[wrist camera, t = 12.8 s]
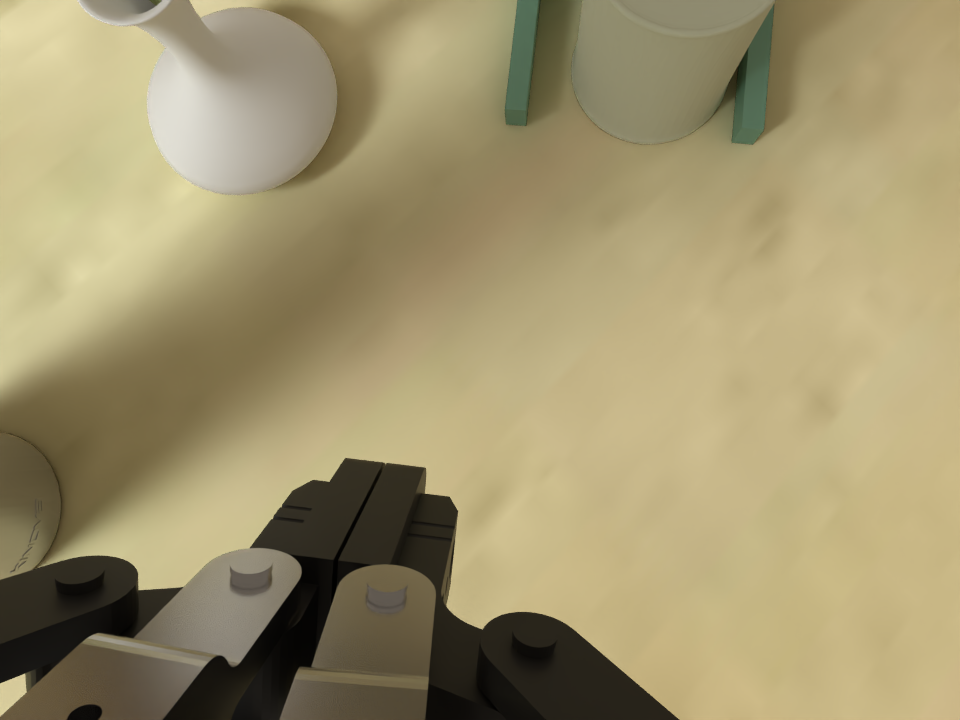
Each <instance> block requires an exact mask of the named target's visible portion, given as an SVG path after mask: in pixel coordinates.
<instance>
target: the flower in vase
mask: <svg viewBox="0 0 960 720" xmlns="http://www.w3.org/2000/svg"><path fill="white" fill-rule="evenodd" d="M77 1H78V2H79V4H80V5H81V7H82V8H83V9H84V10H85V11H86V12H87V13H88V14H89V15H91V16H92V17H94V18H95V19H97V20H99V21H101V22H104V23H107V24H110V25H115V26H137V27H139V28H141V29H142V30H144V31H146V32H147V33H149V34H150V35H151V36H152V37H154V38H155V39H156V40H158V41H159V42H160V43H161V44H162V45H163V46H164V47H165V49H164V51H163V52H162V54H161V55H160V57H159V59H158V61H157V63H156V65H155V67H154V70H153V72H152V75H151V78H150V82H149V87H148V94H147V113H148V119H149V124H150V127H151V130H152V134H153V137H154V140H155V142H156V144H157V146H158V148H159V151H160V152H161V154H162V155H163V157H164V159H165V160H166V161H167V163H168V164H169V165H170V166H171V167H172V168H173V170H175V171H176V172H177V173H178V174H179V175H180V176H181V177H183V178H184V179H186V180H187V181H189V182H190V183H192V184H193V185H196V186H198V187H200V188H202V189H204V190H208V191H211V192H214V193H219V194H225V195H248V194H255V193H259V192H264V191H267V190H270V189H272V188H275V187H277V186H279V185H281V184H283V183H285V182H287V181H289V180H290V179H292V178H293V177H295V176H296V175H298V174H299V173H300V172H301V171H302V170H303V169H305V168H306V167H307V166H308V165H309V164H310V163H311V162H312V160H313V159H314V158H315V157H316V156H317V154H318V153H319V151H320V150H321V149H322V147H323V146H324V144H325V142H326V140H327V138H328V136H329V134H330V131H331V128H332V126H333V123H334V119H335V114H336V109H337V84H336V79H335V74H334V71H333V68H332V65H331V62H330V60H329V58H328V56H327V54H326V52H325V51H324V49H323V48H322V47H321V45H320V44H319V42H318V41H317V40H316V39H315V38H314V37H313V36H312V35H311V34H310V33H309V32H308V31H306V30H305V29H304V28H303V27H302V26H300V25H298V24H297V23H295V22H293V21H292V20H290V19H288V18H286V17H284V16H281V15H279V14H277V13H274V12H271V11H268V10H264V9H258V8H246V7H239V8H230V9H225V10H221V11H217V12H214V13H211V14H209V15H206V16H204V17H202V18H200V17H199V16H198V14H197V13H196V11H195V10H194V8H193V6H192V4H191V3H190V1H189V0H77Z"/></svg>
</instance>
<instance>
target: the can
mask: <svg viewBox="0 0 960 720" xmlns="http://www.w3.org/2000/svg"><path fill="white" fill-rule="evenodd" d="M775 1H776V0H582V7H581V16H580V24H579V32H578V40H577V44H576V46H575V49H574V52H573V57H572V64H571V77H572V84H573V88H574V92H575V95H576V97H577V100H578V102H579V104H580V105H581V107H582V109H583V110H584V112H585V113H586V114H587V116H588V117H589V118H590V119H591V120H592V121H593V122H594V123H595V124H596V125H597V126H598V127H599V128H601V129H602V130H604V131H605V132H607V133H608V134H610V135H612V136H614V137H616V138H619V139H621V140H624V141H628V142H632V143H638V144H660V143H666V142H670V141H674V140H677V139H680V138H682V137H684V136H686V135H688V134H690V133H692V132H694V131H695V130H697V129H698V128H699V127H701V126H702V125H703V124H704V123H705V122H706V121H707V120H708V119H709V118H710V117H711V116H712V115H713V114H714V112H715V111H716V110H717V108H718V107H719V105H720V103H721V101H722V99H723V98H724V95H725V92H726V90H727V86H728V83H729V81H730V79H731V77H732V75H733V74H734V72H735V70H736V68H737V67H738V65H739V63H740V61H741V60H742V58H743V56H744V54H745V52H746V51H747V49H748V47H749V45H750V44H751V42H752V40H753V38H754V37H755V35H756V33H757V31H758V30H759V28H760V26H761V25H762V23H763V21H764V20H765V18H766V16H767V14H768V13H769V11H770V9H771V8H772V6H773V4H774V3H775Z"/></svg>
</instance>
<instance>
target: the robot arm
mask: <svg viewBox="0 0 960 720" xmlns="http://www.w3.org/2000/svg"><path fill="white" fill-rule="evenodd" d="M425 484H426V468H424V467H416V466H407V465H399V464H391V463H387V464H386V465H385V463H382V462H374V461H366V460H358V459H350V458H345V459H344V461H343V462H342V464H341V465H340V467H339V468H338V470H337V471H336V473H335V474H334V476H333V477H332V479H331V480H330V482H326V481H317V480H312V481H310V482H308V483H306V484H305V485H303V486H301V487H299V488H297V489H295V490H293V491H292V492H291V494H290V495H289V496H288V498H287V499H286V500H285V502H284V503H283V504H282V508H281V507H280V508H279V510H278V511H277V512H276V514H275V515H274V518H273V519H271V520H270V522H269V523H268V524H267V526H266V527H265V528H264V530H263V531H262V532H261V534H260V535H259V536H258V538H257V539H256V540H255V542H254V543H253V544H252V546H251V547H250V548H249V549H241V550H236V551H232V552H229V553H226V554H223V555H221V556H218V557H216V558H215V559H213V560H211V561H210V562H209V563H208V564H206V565H205V566H204V567H203V568H202V569H201V570H200V571H199V572H198V573H197V574H196V575H195V576H194V577H193V578H192V579H191V580H190V581H189V582H188V583H187V584H186V585H185V586H184V587H181V588H168V589H153V590H138V572H137V569H136V568H135V567H134V566H133V565H132V564H131V563H129V562H128V561H125V560H123V559H120V558H116V557H110V556H84V557H77V558H72V559H68V560H64V561H60V562H57V563H54V564H50V565H47V566H44V567H40V568H37V569H34V570H32V569H33V568H34V567H35V566H37V565H38V564H39V563H40V561H41V560H42V559H43V557H44V556H45V554H46V553H47V552H48V550H49V549H50V546H51V544H52V542H53V540H54V538H55V535H56V533H57V529H58V525H59V520H60V513H61V497H60V491H59V485H58V482H57V479H56V477H55V474H54V472H53V469H52V467H51V466H50V465H49V463H48V462H47V460H46V459H45V457H44V456H43V455H42V454H41V453H40V452H39V451H38V450H37V449H36V448H35V447H34V446H33V445H31V444H30V443H28V442H26V441H25V440H23V439H21V438H20V437H17V436H13V435H10V434H7V433H1V432H0V683H2V682H5V681H7V680H10V679H12V678H15V677H17V676H20V675H22V674H25V675H26V689H27V693H26V694H25V695H24V696H22V697H21V698H20V699H19V700H18V701H17V702H16V703H15V704H14V705H13V706H12V707H10V708H9V709H8V710H7V711H6V712H5V713H4V714H3V715H2V716H1V717H0V720H679V719H678V718H677V717H675V716H674V715H673V714H672V713H671V712H669V711H668V710H667V709H666V708H665V707H664V706H662V705H661V704H660V703H659V702H658V701H657V700H655V699H654V698H653V697H652V696H651V695H650V694H648V693H647V692H646V691H645V690H644V689H643V688H641V687H640V686H639V685H638V684H637V683H636V682H634V681H633V680H632V679H631V678H630V677H628V676H627V675H626V674H625V673H624V672H623V671H621V670H620V669H619V668H618V667H617V666H616V665H614V664H613V663H612V662H611V661H610V660H609V659H607V658H606V657H605V656H604V655H603V654H602V653H600V652H599V651H598V650H597V649H596V648H595V647H593V646H592V645H591V644H590V643H589V642H587V641H586V640H585V639H584V638H583V637H582V636H580V635H579V634H578V633H577V632H576V631H575V630H573V629H572V628H571V627H569V626H568V625H567V624H565V623H563V622H561V621H559V620H557V619H555V618H552V617H549V616H546V615H543V614H538V613H531V612H515V613H508V614H504V615H501V616H499V617H496V618H494V619H493V620H491V621H490V622H489V623H488V624H487V625H486V626H485V627H484V629H483V630H482V629H479V628H477V627H474V626H472V625H469V624H467V623H465V622H464V621H462V620H460V619H459V618H457V617H456V616H455V615H453V614H452V613H451V612H450V611H449V610H448V608H447V607H446V604H447V600H448V594H449V589H450V584H451V574H452V564H453V555H454V545H455V535H456V526H457V516H458V510H457V509H456V507H455V505H454V504H453V502H452V500H451V499H450V497H447V496H439V495H431V494H425Z"/></svg>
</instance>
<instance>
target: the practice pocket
mask: <svg viewBox="0 0 960 720" xmlns="http://www.w3.org/2000/svg"><path fill="white" fill-rule="evenodd" d="M539 9H540V0H518V2H517V10H516V19H515V27H514V36H513V44H512V53H511V61H510V70H509V78H508V87H507V95H506V104H505V117H506V124H509V125H521V126H526V123H527V114H528V105H529V96H530V88H531V79H532V70H533V61H534V53H535V44H536V35H537V26H538V18H539ZM773 13H774V4H773V6H772V8H771V9H770V11H769V13H768V14H767V16H766V18H765V20H764V21H763V23H762V25H761V26H760V28H759V30H758V31H757V33H756V35H755V37H754V38H753V40H752V42H751V44H750V45H749V47H748V49H747V51H746V52H745V54H744V56H743V58H742V60H741V61H740V63H739V65H738V75H737V87H736V98H735V110H734V122H733V133H732V143H742V144H753V143H754V142H755V141H756V140H757V138H758V137H759V136H760V134H761V133H762V132H763V130H764V124H765V111H766V99H767V87H768V75H769V62H770V50H771V38H772V25H773Z"/></svg>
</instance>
